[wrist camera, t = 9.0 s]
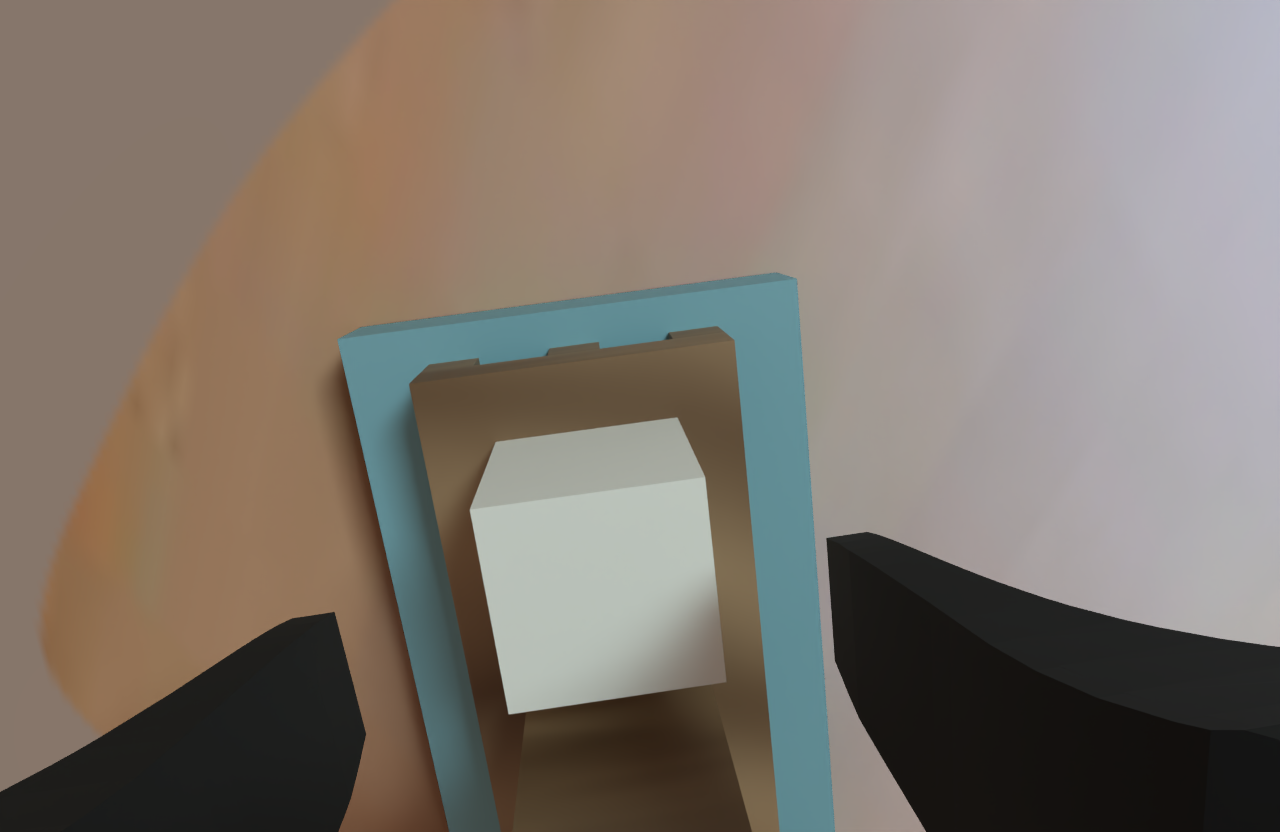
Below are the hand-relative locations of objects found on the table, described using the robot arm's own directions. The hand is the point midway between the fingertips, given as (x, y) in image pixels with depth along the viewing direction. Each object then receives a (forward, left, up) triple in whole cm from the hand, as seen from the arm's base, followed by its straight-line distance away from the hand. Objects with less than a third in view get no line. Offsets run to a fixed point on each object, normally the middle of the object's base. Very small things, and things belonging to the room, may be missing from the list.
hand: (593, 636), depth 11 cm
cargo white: (-1, 0, -6) cm, 6 cm away
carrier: (-6, 0, -8) cm, 10 cm away
